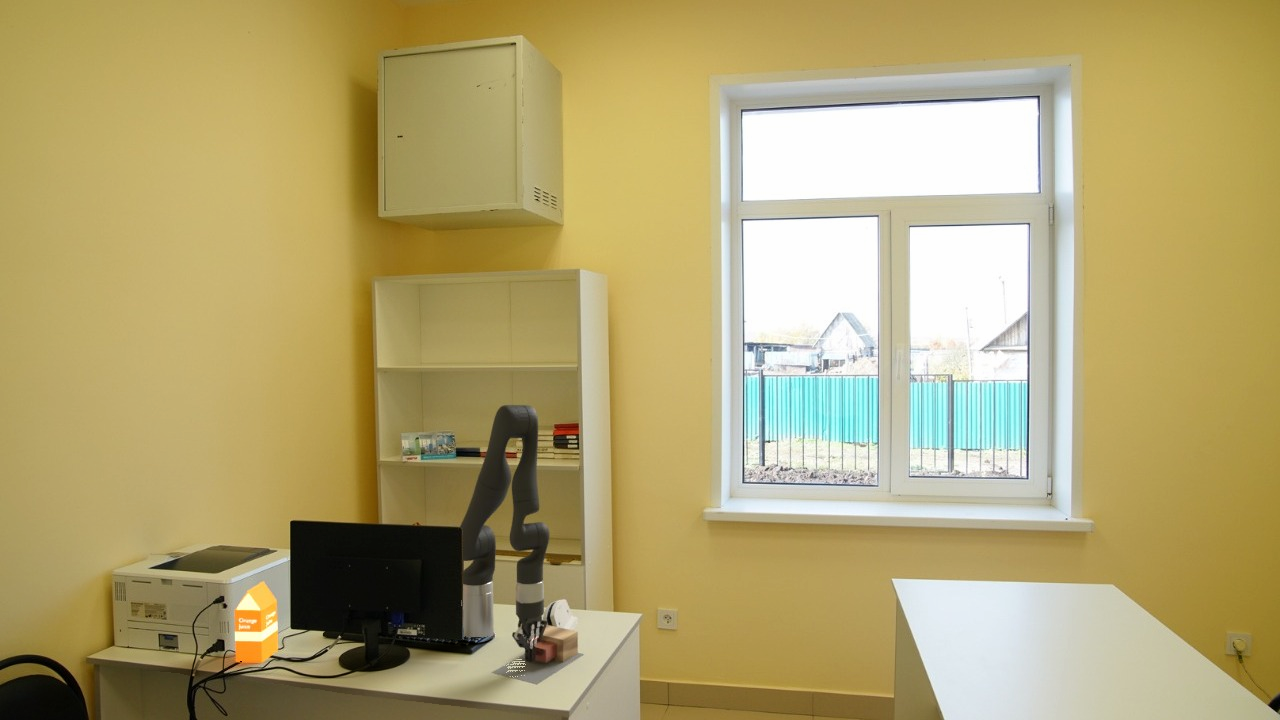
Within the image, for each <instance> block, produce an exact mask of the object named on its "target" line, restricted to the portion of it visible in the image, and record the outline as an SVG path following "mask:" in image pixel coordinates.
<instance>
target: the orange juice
mask: <svg viewBox="0 0 1280 720" xmlns="http://www.w3.org/2000/svg"><path fill="white" fill-rule="evenodd" d="M246 591H247V592H246V593H245V595H243V598H241V600H240V602H239V603H238V605H237V607H236V608H235V609H234V642H235V663H259V664H260V663H261V664H262V663H263V662H265V661H266V660H267V659H268V658H270V657H271V656H273V655H274V654H275V653H276V652H278V651H279V644H278V643H279V642H278V641H279V640H278V639H279V638H278V635H279V633H278V605H277V604H278V600H277V599H276V596H274V595H273V593H272V591H271V589H269V587H268V586H267V584H266V583H265V581H261V582H259V583H258V584H256V585H254V586H253V587H252V588H250V589H248V590H246ZM240 661H242V662H240Z"/></svg>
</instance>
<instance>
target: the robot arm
mask: <svg viewBox="0 0 1280 720" xmlns="http://www.w3.org/2000/svg"><path fill="white" fill-rule="evenodd" d="M510 439H521V443H522V451H521V456H520V459H519V461H518V464H517V467H516V469H515V472H514V474H513V476H512V471H511V468H510V465H509V462H508V460H507V457H506V450H507V446H508V443H509V441H510ZM538 442H539V419H538V413H537V411H536V409H535V408H534V406H531V405H528V404H527V405H526V404H505V405H501V406H500V407H499V408H498V409H497V411H496V413H495V415H494V418H493V422H492V427H491V432H490V436H489V441H488V446H487V449H486V453H485V456H484V459H483V462H482V466H481V468H480V471H479V474H478V477H477V480H476V483H475V486H474V489H473V494H472V496H471V499H470V501H469V505H468V508H467V510H466V513H465V515H464V517H463V519H462V521H461V524H460V526H459V528H462V530H463V561H464V562H469V561H472V562H471V563H470V564H469V565H468V566H467V567H466V568H465V569H464V570H463V571H462V572H463V603H464V604H463V610H464V637H465V636H466V637H487V636H488V637H491V636H493V635H495V634H494V633H495V632H494V574H495V570H496V569H495V568H496V554H497V553H496V551H497V544H496V543H497V542H496V535H495V532H494V530H493V529H492V528H491V527H490V526H489V525H486V522H487V521H488V520H489V518H491V516H493V514H494V513H495V512H496V511H497V510H498V509H499V508H500V507H501V506H502V504H503V502H504V501H505V499H506V497H507V496H508V495H507V494H508V492H509V488H510V485H511V496H512V497H511V498H512V506H513V508H512V509H513V510H512V511H513V512H512V520H511V521H512V522H511V527H510V530H509V531H510V533H509V543H510V544H509V545H510V546H511V548H512V549H513V550H514V551H516V552H524V551H530V550H531V552H530V554H529V555H527V556H523V557H522V558H520V559H519V560H518V561H517V563H516V585H515V586H516V587H515V615H516V616H517V617H518V623H517V630H516V631H512V634H511V636H512V638H513V639H514V641H515V642H516V644H517V645H518V647H520V648H523V649H524V654H525V660H526V661H527V662H532V661H534V660H535V656H536V654H535V647H536V646H537V643H538V642H540V641H541V639H542V636H543V633H544V631H545V628H546V626H547V621H545V620H543V616H544V612H545V587H544V562H545V557H546V554H547V550H548V546H549V543H550V538H551V537H550V529H549V527H548V526H547V525H546V523H545V522H542V521H537V522H536V521H535V522H529V523H525V519H526V518H527V516H530V515H533V514H535V513H538V512H539V511H540V498H539V489H538V478H537V477H538V474H537V470H538V469H537V468H538V467H537V465H538V449H539V443H538Z"/></svg>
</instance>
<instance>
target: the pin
mask: <svg viewBox="0 0 1280 720" xmlns="http://www.w3.org/2000/svg"><path fill="white" fill-rule="evenodd" d="M535 654H536V656H535V660H536V661H540V662H545V663H547V662H548V661H550V660H552V659H553V658H555V657H557V643H553V642H548V641H544V640H541V641H540V642H538V643H537V646H536V647H535Z"/></svg>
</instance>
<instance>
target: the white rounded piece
mask: <svg viewBox="0 0 1280 720" xmlns="http://www.w3.org/2000/svg"><path fill="white" fill-rule="evenodd" d="M542 620H545V621H547V625H550V626H554V627H559V628H564V629H568V630H573V631H575V628H577V627H578V625H577V624H579V622H580V621H579V619H578V617H577V616H575V615H573V613H572V611H571V608H570V606H569V604H568V600H566V599H565V598H563V599H558V600H556V601H553V602H551V603H550V604H548V605H547V607H546V608H545V609H544V614H543V615H542Z"/></svg>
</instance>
